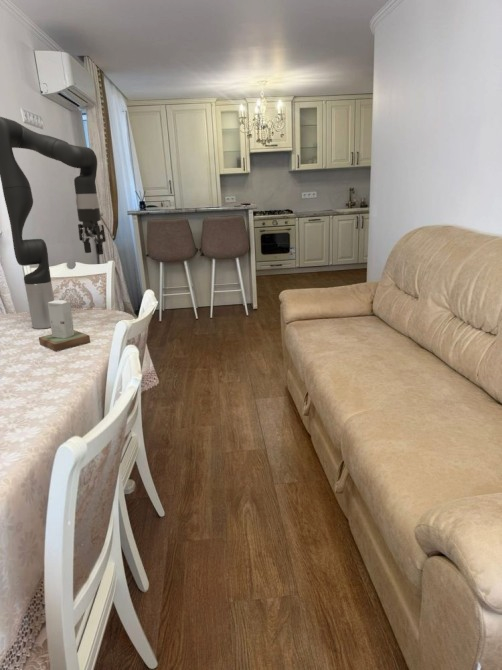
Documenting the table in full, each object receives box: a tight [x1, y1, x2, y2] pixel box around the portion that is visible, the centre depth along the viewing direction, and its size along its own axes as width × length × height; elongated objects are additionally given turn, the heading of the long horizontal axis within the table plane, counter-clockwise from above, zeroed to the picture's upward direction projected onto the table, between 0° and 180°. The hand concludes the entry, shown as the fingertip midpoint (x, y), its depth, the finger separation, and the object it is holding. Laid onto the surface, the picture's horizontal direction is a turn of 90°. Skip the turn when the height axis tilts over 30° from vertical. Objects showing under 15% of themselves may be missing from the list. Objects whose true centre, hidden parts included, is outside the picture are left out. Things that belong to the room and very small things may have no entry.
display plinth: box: [38, 329, 91, 352], centre depth 152 cm, size 12×12×3 cm
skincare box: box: [48, 299, 75, 338], centre depth 150 cm, size 6×4×12 cm
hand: (94, 253), depth 163 cm, fingers open, 8 cm apart
